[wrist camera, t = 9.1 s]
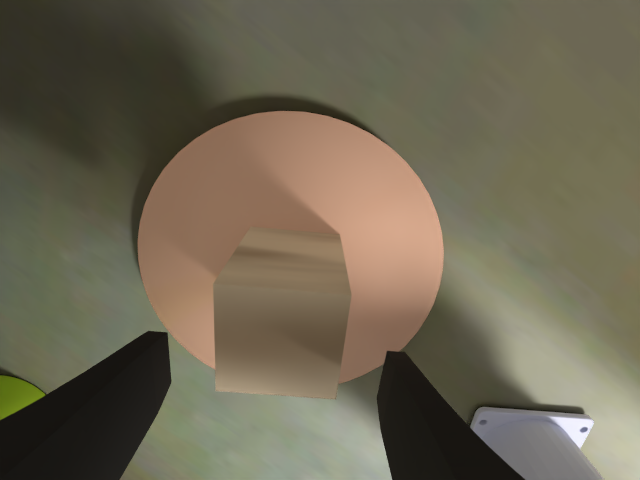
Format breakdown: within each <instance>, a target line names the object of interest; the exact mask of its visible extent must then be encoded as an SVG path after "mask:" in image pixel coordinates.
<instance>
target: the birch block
mask: <svg viewBox="0 0 640 480" xmlns="http://www.w3.org/2000/svg"><path fill="white" fill-rule="evenodd" d="M351 296H352V294H351V289H350V284H349V279H348V274H347V268H346V263H345V258H344V253H343V248H342V243H341V237H340V234H329V233H318V232H307V231H296V230H284V229H273V228H262V227H250V228H249V230H248V231H247V233H246V234H245V236H244V237H243V239H242V241H241V242H240V244H239V245H238V247H237V248H236V250H235V251H234V253H233V254H232V256H231V257H230V259H229V260H228V262H227V263H226V265H225V266H224V268H223V269H222V271H221V272H220V274H219V276H218V277H217V279H216V280H215V282H214V283H213V302H214V341H215V380H216V391H223V392H238V393H252V394H266V395H281V396H295V397H310V398H324V399H336V397H337V390H338V383H339V377H340V370H341V363H342V356H343V350H344V343H345V336H346V330H347V323H348V316H349V310H350V303H351Z"/></svg>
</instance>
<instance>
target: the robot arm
mask: <svg viewBox="0 0 640 480" xmlns="http://www.w3.org/2000/svg"><path fill="white" fill-rule="evenodd" d="M170 384H171V372H170V359H169V347H168V334H167V333H166V332H154V331H148V332H146V333H144V334H143V335H141V336H139V337H138V338H136V339H135V340H133V341H132V342H130V343H129V344H127V345H125V346H124V347H122V348H121V349H119V350H118V351H116V352H115V353H113V354H112V355H110V356H109V357H107V358H106V359H104V360H102V361H101V362H99V363H98V364H96V365H95V366H93V367H92V368H90V369H88V370H87V371H85V372H84V373H82V374H81V375H79V376H77V377H75V378H74V379H72V380H70V381H69V382H67V383H65V384H64V385H62V386H60V387H59V388H57V389H55V390H54V391H52V392H50V393H49V394H47V395H45V396H44V397H42V398H40V399H38V400H37V401H35V402H33V403H31V404H30V405H28V406H26V407H24V408H22V409H20V410H19V411H17V412H15V413H13V414H11V415H9V416H7V417H5V418H3V419H1V420H0V480H119V479H120V478H121V476H122V474H123V473H124V471H125V469H126V468H127V466H128V464H129V462H130V461H131V459H132V457H133V456H134V454H135V452H136V450H137V449H138V447H139V445H140V444H141V442H142V440H143V438H144V437H145V435H146V433H147V431H148V430H149V428H150V426H151V424H152V423H153V421H154V419H155V417H156V416H157V414H158V412H159V409H160V407H161V405H162V403H163V401H164V398H165V396H166V394H167V391H168V389H169V386H170ZM377 404H378V413H379V421H380V428H381V433H382V438H383V442H384V446H385V451H386V455H387V459H388V463H389V467H390V472H391V476H392V480H605V479H604V478H603V477H602V476H601V474H600V473H599V472H598V471H597V469H596V468H595V467H594V466H593V465H592V463H591V462H590V461H589V460H588V458H587V457H586V456H585V455H584V453H583V452H582V451H581V450H580V448H581V446H582V444H583V442H584V441H585V439H586V437H587V435H588V433H589V432H590V430H591V428H592V426H593V424H594V421H593V419H592V418H591V417H590V416H589V415H586V414H573V413H559V412H546V411H532V410H519V409H505V408H492V407H481V408H479V409H477V411H476V412H475V415H474V418H473V420H472V423H471V426H470V427H469V426H468V425H467V424H466V423H465V422H464V421H463V420H462V419H461V417H460V416H459V415H458V414H457V413H456V412H455V411H454V410H453V409H452V408H451V407H450V405H449V404H448V403H447V402H446V401H445V400H444V399H443V397H442V396H441V395H440V394H439V393H438V392H437V390H436V389H435V388H434V387H433V386H432V385H431V383H430V382H429V381H428V380H427V378H426V377H425V376H424V375H423V374H422V372H421V371H420V370H419V369H418V367H417V366H416V365H415V364H414V363H413V361H412V360H411V359H410V358H409V356H408V355H407V354H406V353H405V352H396V351H387V352H386V357H385V362H384V366H383V371H382V376H381V381H380V385H379V390H378V395H377Z"/></svg>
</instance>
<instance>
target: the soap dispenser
mask: <svg viewBox="0 0 640 480" xmlns="http://www.w3.org/2000/svg"><path fill="white" fill-rule="evenodd" d="M44 396H45V394H44V393H43V392H42V391H41V390H40V389H38V388H37V387H35V386H33V385H32V384H30V383H28V382H26V381H23V380H21V379H18V378H14V377H10V376H3V375H0V420H1V419H3V418H5V417H7V416H9V415H11V414H13V413H15V412H17V411H19V410H20V409H22V408H24V407H26V406H28V405H30V404H31V403H33V402H35V401H37V400H38V399H40V398H42V397H44Z"/></svg>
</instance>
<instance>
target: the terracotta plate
mask: <svg viewBox="0 0 640 480" xmlns="http://www.w3.org/2000/svg"><path fill="white" fill-rule="evenodd" d="M250 227H262V228H273V229H284V230H296V231H307V232H318V233H329V234H340V237H341V243H342V248H343V253H344V258H345V263H346V268H347V274H348V279H349V284H350V289H351V294H352V296H351V303H350V310H349V316H348V323H347V330H346V336H345V343H344V350H343V356H342V363H341V370H340V377H339V383H338V384H340V383H344V382H347V381H350V380H353V379H355V378H357V377H360V376H362V375H365V374H367V373H368V372H370V371H372V370H374V369H376V368H378V367H379V366H381V365H382V364H384V362H385V357H386V352H387V351H396V352H399V351H400V350H401V349H402V348H404V347H405V346H406V345H407V343H408V342H409V341H410V340H411V339H412V338H413V337H414V336H415V334H416V333H417V332H418V330H419V329H420V327H421V326H422V324H423V323H424V321H425V320H426V318H427V316H428V314H429V312H430V310H431V308H432V306H433V304H434V302H435V299H436V296H437V293H438V290H439V287H440V282H441V276H442V271H443V255H444V249H443V239H442V231H441V227H440V223H439V219H438V215H437V212H436V210H435V208H434V205H433V203H432V200H431V198H430V195H429V194H428V192H427V190H426V189H425V187H424V185H423V184H422V182H421V180H420V179H419V177H418V176H417V175H416V174H415V172H414V171H413V170H412V169H411V167H410V166H409V165H408V164H407V163H406V161H405V160H404V159H403V158H401V157H400V156H399V155H398V154H397V153H396V152H395V151H394V150H393V149H392V148H391V147H389V146H388V145H387V144H385V143H384V142H382V141H381V140H379V139H378V138H376V137H375V136H373V135H372V134H370V133H368V132H366V131H364V130H362V129H360V128H358V127H356V126H354V125H352V124H350V123H347V122H344V121H341V120H338V119H335V118H332V117H329V116H325V115H320V114H314V113H308V112H298V111H274V112H265V113H256V114H252V115H248V116H244V117H240V118H236V119H233V120H231V121H228V122H226V123H224V124H221V125H219V126H216V127H214V128H212V129H211V130H209V131H207V132H206V133H204V134H202V135H201V136H199V137H197V138H196V139H194V140H193V141H192V142H190V143H189V144H188V145H187V146H186V147H184V148H183V149H182V150H181V151H180V152H178V153H177V154H176V156H175V157H174V158H173V159H172V160H171V161H170V162H169V163H168V165H167V166H166V167H165V168H164V169H163V171H162V172H161V174H160V175H159V177H158V179H157V180H156V182H155V183H154V185H153V187H152V189H151V191H150V193H149V196H148V198H147V200H146V202H145V205H144V209H143V212H142V216H141V220H140V225H139V234H138V261H139V267H140V272H141V278H142V281H143V284H144V287H145V290H146V293H147V296H148V298H149V300H150V302H151V304H152V306H153V308H154V310H155V312H156V314H157V315H158V317H159V318H160V320H161V321H162V323H163V324H164V326H165V327H166V328H167V330H168V331H169V332H170V333H171V334H172V336H173V337H174V338H175V339H176V340H177V341H178V342H179V343H180V344H181V345H182V346H183V347H184V348H185V349H186V350H187V351H188V352H190V353H191V354H192V355H194V356H195V357H196V358H198V359H199V360H200V361H202V362H203V363H205V364H207V365H208V366H210V367H212V368H213V369H215V341H214V302H213V283H214V282H215V280H216V279H217V277H218V276H219V274H220V272H221V271H222V269H223V268H224V266H225V265H226V263H227V262H228V260H229V259H230V257H231V256H232V254H233V253H234V251H235V250H236V248H237V247H238V245H239V244H240V242H241V241H242V239H243V237H244V236H245V234H246V233H247V231H248V230H249V228H250Z"/></svg>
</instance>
